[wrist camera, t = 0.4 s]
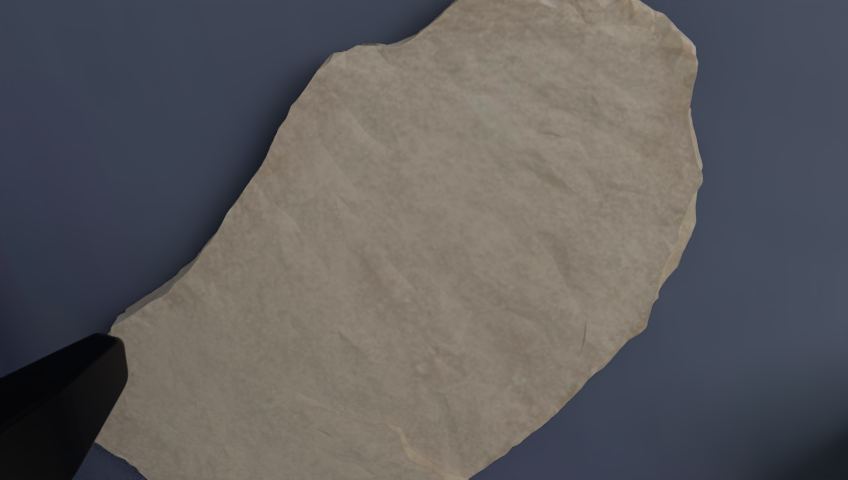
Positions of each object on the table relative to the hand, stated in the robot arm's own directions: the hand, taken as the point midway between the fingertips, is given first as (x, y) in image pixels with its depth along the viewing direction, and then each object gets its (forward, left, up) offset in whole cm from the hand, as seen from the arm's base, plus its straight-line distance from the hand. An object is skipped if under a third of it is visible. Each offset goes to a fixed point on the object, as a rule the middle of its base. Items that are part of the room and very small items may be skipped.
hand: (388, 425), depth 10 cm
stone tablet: (-5, -2, -16) cm, 17 cm away
